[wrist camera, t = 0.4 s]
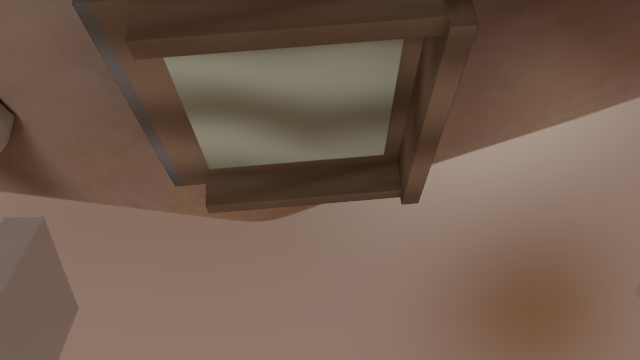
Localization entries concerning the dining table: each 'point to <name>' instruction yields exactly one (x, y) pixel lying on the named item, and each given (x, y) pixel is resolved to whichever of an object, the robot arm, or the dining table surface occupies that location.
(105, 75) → the dining table surface
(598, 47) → the dining table surface
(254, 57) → the dock
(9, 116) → the flask
